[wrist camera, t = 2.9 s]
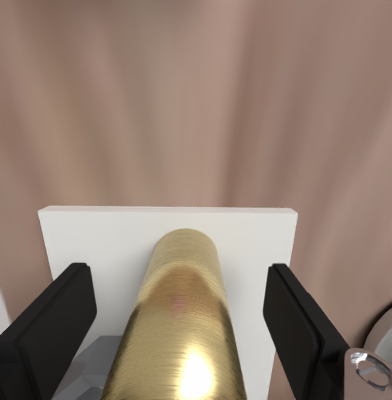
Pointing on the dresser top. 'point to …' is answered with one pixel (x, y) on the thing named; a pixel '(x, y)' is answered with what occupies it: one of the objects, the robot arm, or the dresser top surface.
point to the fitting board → (137, 266)
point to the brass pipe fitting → (178, 329)
